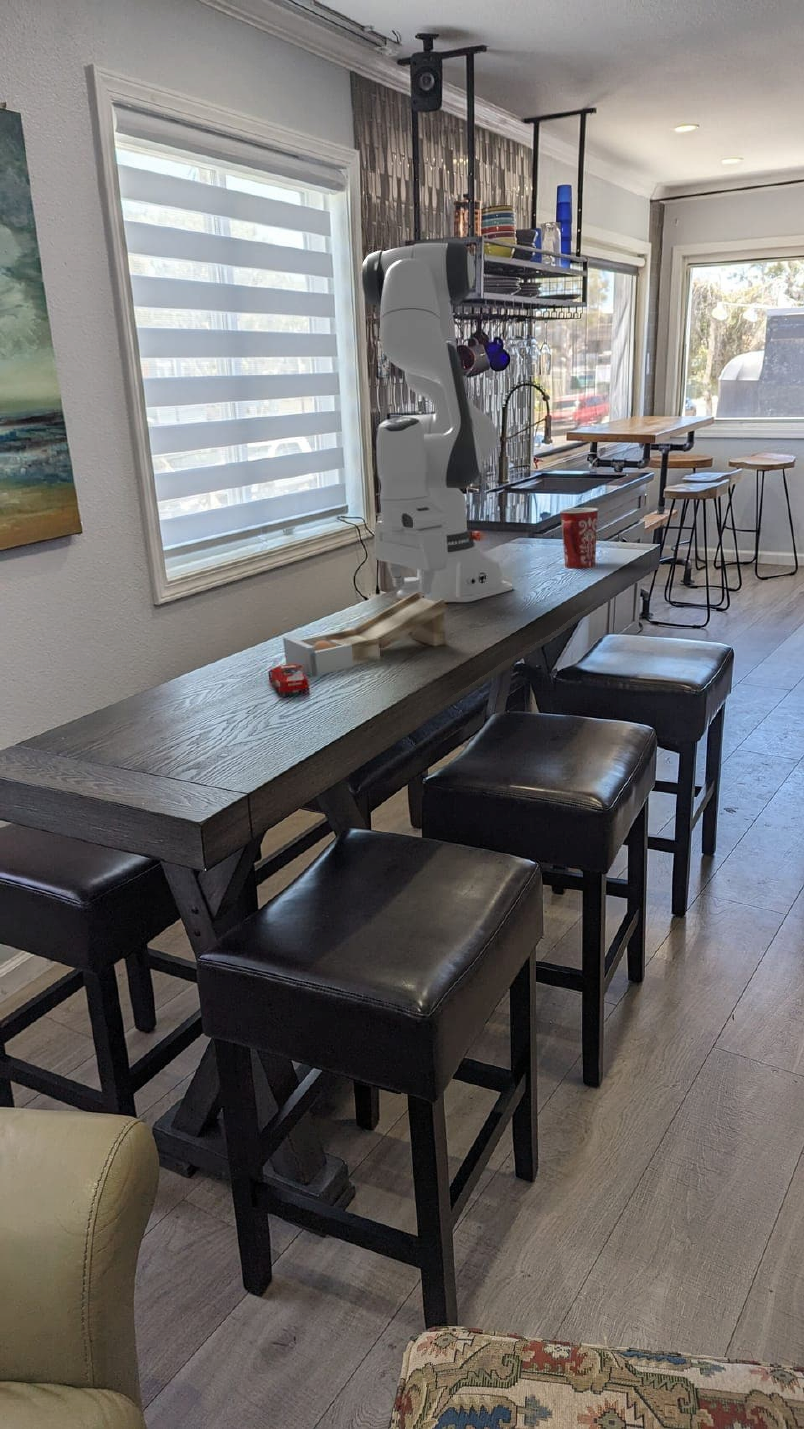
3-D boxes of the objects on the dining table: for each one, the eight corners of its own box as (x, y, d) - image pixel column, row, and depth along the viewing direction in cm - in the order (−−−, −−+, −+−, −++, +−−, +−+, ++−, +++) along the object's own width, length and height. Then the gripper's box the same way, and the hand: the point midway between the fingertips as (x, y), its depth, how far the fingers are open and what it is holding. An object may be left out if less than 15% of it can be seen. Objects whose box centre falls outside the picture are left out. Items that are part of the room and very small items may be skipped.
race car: (267, 680, 168) (264, 658, 167) (298, 675, 169) (295, 653, 168) (279, 702, 156) (275, 677, 155) (312, 696, 157) (309, 672, 156)
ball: (329, 639, 175) (326, 663, 176) (307, 638, 173) (304, 662, 173) (341, 643, 171) (338, 668, 172) (319, 642, 169) (316, 667, 170)
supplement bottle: (423, 630, 191) (420, 581, 188) (396, 631, 192) (392, 582, 189) (428, 624, 196) (425, 575, 193) (402, 624, 197) (398, 576, 194)
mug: (571, 561, 246) (569, 507, 242) (604, 562, 241) (604, 507, 237) (548, 571, 237) (546, 514, 232) (582, 573, 231) (581, 515, 227)
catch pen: (327, 655, 179) (324, 628, 178) (353, 666, 171) (351, 639, 169) (286, 664, 175) (282, 637, 174) (311, 676, 167) (307, 648, 165)
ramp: (422, 634, 188) (419, 590, 185) (449, 643, 180) (446, 598, 177) (327, 655, 179) (322, 610, 176) (351, 666, 171) (346, 618, 168)
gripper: (362, 511, 182) (369, 585, 186) (420, 520, 165) (426, 601, 169) (392, 507, 184) (398, 579, 189) (451, 515, 167) (456, 595, 172)
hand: (411, 590), depth 179 cm, fingers open, 8 cm apart
